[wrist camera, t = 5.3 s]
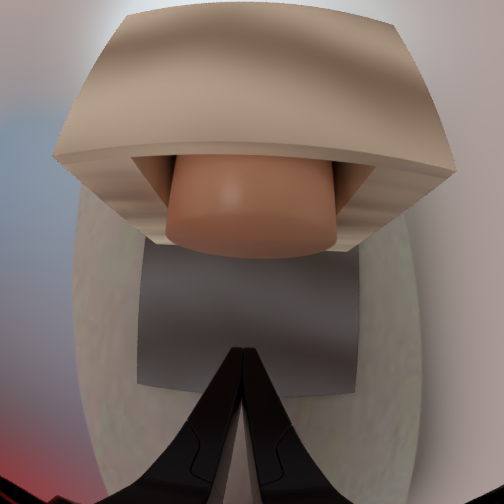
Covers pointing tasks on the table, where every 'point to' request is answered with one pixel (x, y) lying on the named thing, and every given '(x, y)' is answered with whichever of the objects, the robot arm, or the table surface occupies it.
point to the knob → (252, 205)
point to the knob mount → (254, 143)
